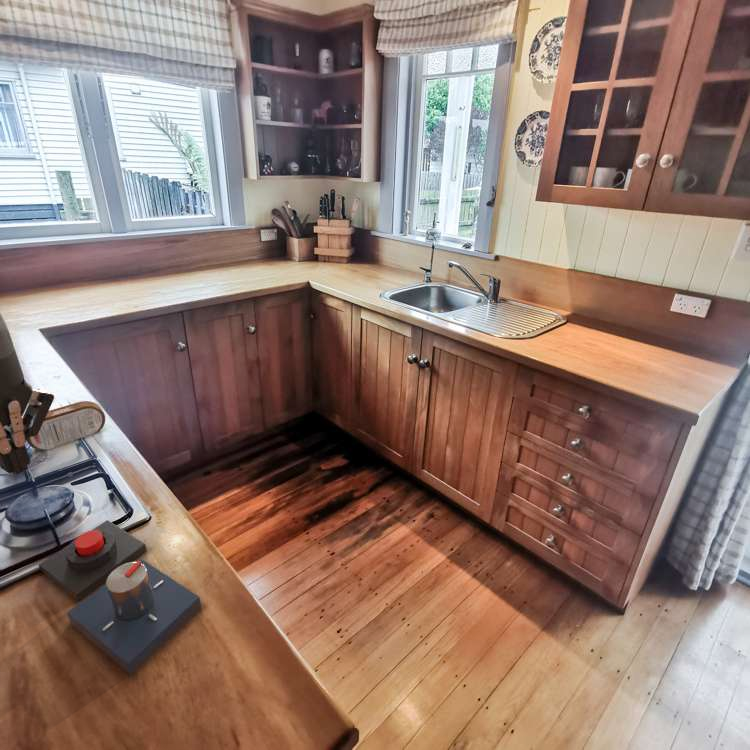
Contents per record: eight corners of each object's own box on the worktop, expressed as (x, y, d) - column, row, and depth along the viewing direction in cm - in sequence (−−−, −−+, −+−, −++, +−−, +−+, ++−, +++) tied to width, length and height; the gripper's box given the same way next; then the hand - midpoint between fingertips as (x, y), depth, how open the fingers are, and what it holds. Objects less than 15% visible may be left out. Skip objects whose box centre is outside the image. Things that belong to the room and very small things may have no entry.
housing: (42, 574, 71) (34, 555, 69) (110, 529, 80) (105, 511, 78) (80, 605, 67) (73, 586, 65) (147, 553, 75) (143, 535, 74)
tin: (106, 426, 108) (97, 394, 104) (110, 431, 106) (102, 399, 102) (29, 452, 98) (16, 418, 94) (32, 459, 96) (20, 424, 92)
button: (72, 550, 71) (69, 541, 70) (95, 535, 74) (92, 526, 73) (86, 560, 69) (83, 551, 69) (109, 544, 72) (106, 536, 71)
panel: (72, 627, 64) (66, 612, 62) (144, 571, 72) (140, 556, 71) (132, 678, 58) (127, 662, 57) (202, 611, 67) (199, 596, 65)
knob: (135, 625, 61) (126, 595, 58) (106, 614, 62) (96, 584, 60) (161, 595, 65) (154, 565, 63) (133, 585, 66) (125, 556, 64)
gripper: (-84, 383, 47) (-25, 512, 55) (51, 340, 57) (84, 454, 65) (-117, 363, 50) (-57, 488, 58) (17, 326, 60) (53, 436, 68)
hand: (18, 470), depth 61 cm, fingers closed
